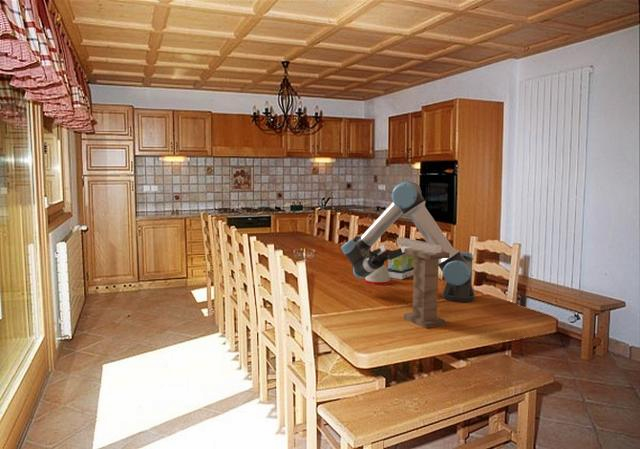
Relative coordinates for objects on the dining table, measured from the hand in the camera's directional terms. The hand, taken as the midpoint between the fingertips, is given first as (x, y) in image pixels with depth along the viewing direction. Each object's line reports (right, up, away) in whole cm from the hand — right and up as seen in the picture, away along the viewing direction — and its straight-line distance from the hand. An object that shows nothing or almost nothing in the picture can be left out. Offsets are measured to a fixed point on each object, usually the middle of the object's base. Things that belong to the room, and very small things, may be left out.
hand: (397, 245), depth 214 cm
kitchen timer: (-2, -23, +56) cm, 60 cm away
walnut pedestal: (+9, -31, -12) cm, 35 cm away
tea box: (+13, -21, +70) cm, 74 cm away
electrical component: (-9, -19, +85) cm, 87 cm away
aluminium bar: (+7, -1, -11) cm, 13 cm away
